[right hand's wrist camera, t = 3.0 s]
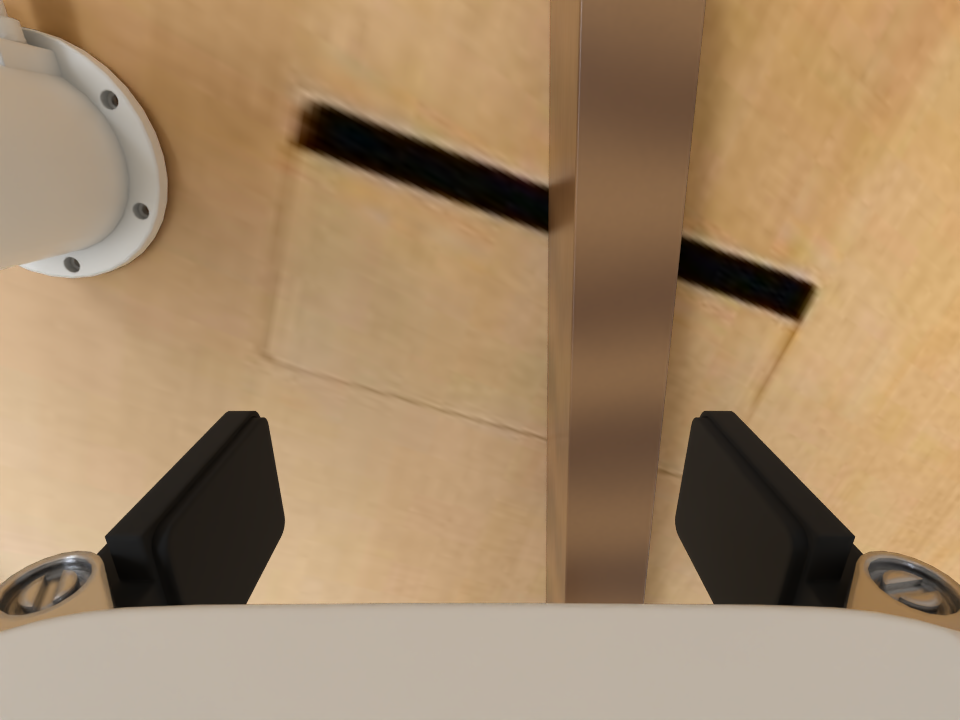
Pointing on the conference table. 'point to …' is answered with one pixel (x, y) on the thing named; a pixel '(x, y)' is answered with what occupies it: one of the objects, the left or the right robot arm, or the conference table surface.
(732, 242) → the conference table surface
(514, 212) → the conference table surface
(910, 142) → the conference table surface
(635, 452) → the beam
